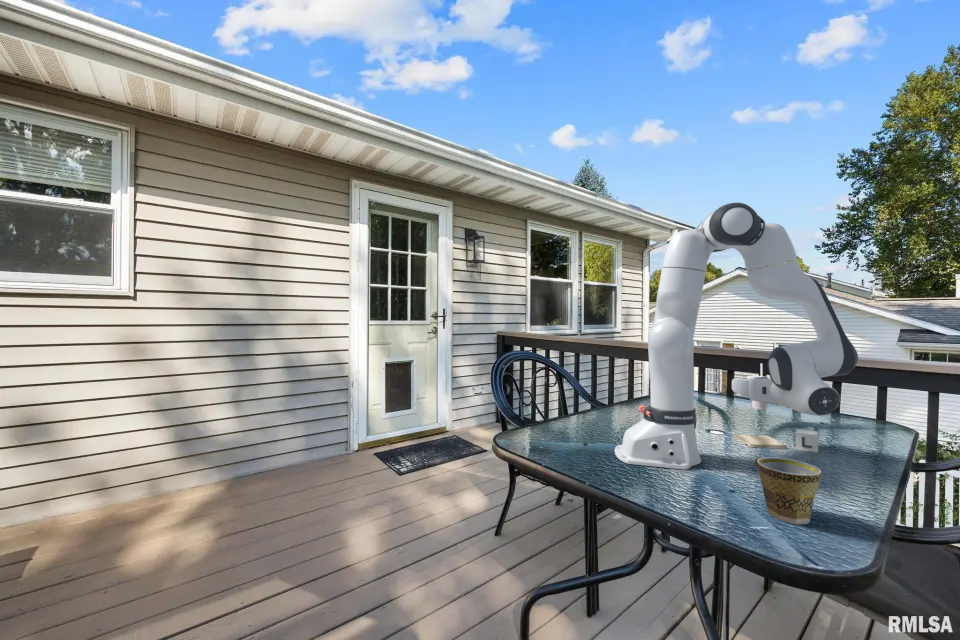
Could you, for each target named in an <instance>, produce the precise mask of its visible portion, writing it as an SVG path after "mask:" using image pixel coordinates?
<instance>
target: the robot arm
mask: <svg viewBox="0 0 960 640" xmlns="http://www.w3.org/2000/svg"><path fill="white" fill-rule="evenodd" d="M666 247H667V248H666V251H665V253H664V257H663V262H662V265H661V266H662V267H661V270H660V271H661V272H660V278H659V283H658V289H657V294H656V302H655V303H656V304H655V312H654V319H653V325H652V327H651V328H650V330H649V331H648V335H647V349H648V350H647V351H648V367H649V368H648V369H649V382H650V385H649V386H650V388H649V389H650V390H649V391H650V396H649V397H650V405H648V406H645V405H639V407H638V411H639V412H640V413H641V414H643V415H642V416H643V418H642V419H641V420H639V421H638V422H636V423H635V424H633V425H632V426H630V427H629V428H627V429H626V430H625V432H624V434H623V437H622V444H618V445H616V446H615V447H614V454H615V456H616V457H617V459H619V460H620V461H621V462H623V463H625V464H629V465H637V466H638V465H639V466H648V467H656V468H657V467H658V468H668V469H677V470H689V469H690V468H691V467H693V466H697V465H700V464H701V462H702V458H701V455H700V452H699V447H698V443H697V442H698V441H697V436H696V428H697V413H696V411H697V410H696V408H695V393H694V392H695V390H694V389H695V386H694V385H695V384H694V383H695V382H694V381H695V380H694V379H695V378H694V336H695V331H696V325H697V320H698V315H699V310H700V305H701V300H702V295H703V289H704V285H705V278H706V275H707V274H706V273H707V268H708V267H707V266H708V261H709V259H710V256H711V255H712V253H717V252H724V251H726V250H730V249H734V250H736V251H737V252H738V253H739V254H740V255H741V257H742V259H743V260H744V266H745V269H746V273H747V274H746V276H747V279H748V282H749V284H750V287H751V288H752V290H753V291H754V292H755V293H756V294H758V295H759V296H761V297H764V298H767V299H771V300H777V301H785V302H792V303H796V304H798V305H799V306H801V307H802V308H803V309H804V310H805V312H806V314H807V316H808V317H809V320H810V322H811V326H812V327H813V329H814V330H815V333H816V338H815V339H813V340H808V341H807V340H806V341H802V342H798V343H797V342H796V343H791V344H786V345H781V346H776V347H775V348H773V349H772V350H771V352H770V354H769V356H768V358H767V362H766V366H767V372H768V376H764V377H754V378H750V379H748V378H732V379H731V390H732V391H733V392H734V393H736V394H738V395H741V396H743V397H746V398H749V400H750V401H751V402H752V401H758V402H766V403H768V404H772V405H775V406H780V407H785V408H786V409H791V410H793V411H795V412H798V413H801V414H805V415H809V416H816V417H817V416H818V417H820V416H826V415H829V414H831V413H833V412H834V411H835V410H836V409H837V408H838V407H839V404H840V400H841V398H840V394H839V393H838V391H837V390H836V389H835V388H833V387H832V386H829V384H827V383H826V382H825V381H823V379H822V378H826V377H838V376H839V377H840V376H847V375H849V374H850V373H852V372H853V370H854V369H855V368H856V366H857V364H858V361H859V355H858V352H857V349H856V348H855V346H854V344H853V343H852V342H851V340H850V339H849V338H848V336H847V335H846V333H845V330H844V329H843V327H842V325H841V323H840V321H839V318H838V316H837V314H836V312H835V309H834V308H833V306H832V304H831V302H830V300H829V297H828V296H827V293H826V291H825V290H824V288H823V287H822V285H821V284H820V282H819V281H818V280H817V279H815V278H813V277H810V276H808V275H807V274H806V272H804V271H803V269H802V267H801V266H800V263H799V260H798V256H797V253H796V249H795V247H794V244H793V242H792V240H791V238H790V236H789V233H788V232H787V230H786V229H785V227H784V226H783V225H781V224H779V223H774V222H773V223H772V222H767V223H766V221H765V220H764V219H763V218H762V217H761V216H759V214H758V213H757V212H756V211H755V210H754V209H753V207H751V206H749V204H746V203H743V202H730V203H726V204H724V205H721V206H720V207H718V208H717V209H715V210H713V211H712V212H711V213H709V214H708V215H707V216H706V217H705V218H704V219H703V220H702V221H701V222H700V223H699V225H698V226H697V227H696V228H695V229H682V230H679V231H677V232H676V233H674V234H673V235H672V236H671V238H670V240H669V243H668V245H667V246H666Z"/></svg>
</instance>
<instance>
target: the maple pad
mask: <svg viewBox="0 0 960 640" xmlns="http://www.w3.org/2000/svg"><path fill="white" fill-rule="evenodd" d="M734 437H735V438H737V439H739V440H740V441H742V442H743V443H742V442H741V443H742V444H744V443H745V444H747V445H748V446H747V445H746V446H747V447H749V446H750V447H763V448H762V449H780V450H781V449H783V450H785V449H787V448H788V445H787V444H785V443H783V442H781V441H779V440H776V439H775V438H773V437H771V436H769V435H758V434H757V435H755V434H754V435H753V434H751V435H750V434H734V435H733V438H734ZM735 438H734V439H735ZM737 439H736V440H737ZM739 440H738V441H739ZM740 441H739V442H740ZM745 444H744V445H745ZM750 447H749V448H750Z"/></svg>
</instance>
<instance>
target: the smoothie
mask: <svg viewBox="0 0 960 640" xmlns="http://www.w3.org/2000/svg"><path fill="white" fill-rule="evenodd" d="M763 365H764V364H763V363H760V366H759V367H760V372H759V373H760V375H748V376H747V379H750V378H754V377H765V375H763V374H764V373H763V371H764V370H763V369H764V368H763ZM768 405H769V403H766V402H758V401H752V400H751V406H752V408H753V409H756V410H768Z"/></svg>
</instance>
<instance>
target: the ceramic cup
mask: <svg viewBox="0 0 960 640" xmlns="http://www.w3.org/2000/svg"><path fill="white" fill-rule="evenodd" d="M755 465H756V468H757V471H758V476H759V479H760V482H761V486H762V491H763V496H764V500H765V505H766V510H767V511H766V512H767V513H768V515H770V516H771V517H773V518H775V519H777V520H778V521H781V522H785V523H789V524H793V525H809V523H810V522H811V516H812V511H813V506H814V502H815V497H816V495H817V492H818V489H819V485H820V481H821V474H822V471H821V469H820V468H818V467H817V466H815V465H814V464H810V463H807V462H804V461H800V460H797V459H791V458H788V457H787V458H786V457H779V456H777V457H776V456H766V457H763V456H758V457H756V459H755Z"/></svg>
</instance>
